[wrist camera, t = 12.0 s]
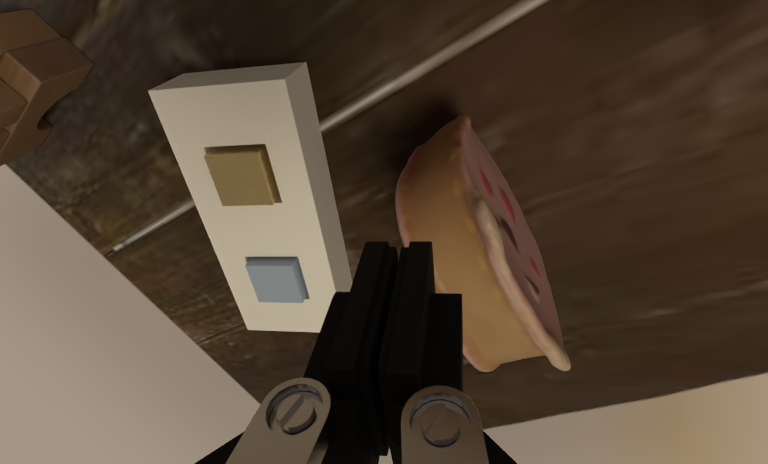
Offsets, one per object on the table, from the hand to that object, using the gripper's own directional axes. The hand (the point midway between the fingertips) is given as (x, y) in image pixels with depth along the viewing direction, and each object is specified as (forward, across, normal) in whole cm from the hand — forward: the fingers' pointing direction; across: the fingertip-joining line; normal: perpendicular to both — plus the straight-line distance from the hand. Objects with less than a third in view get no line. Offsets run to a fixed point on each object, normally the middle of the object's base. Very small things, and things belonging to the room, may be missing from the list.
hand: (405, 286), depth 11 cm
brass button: (+25, +18, +8) cm, 32 cm away
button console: (+29, +18, +14) cm, 37 cm away
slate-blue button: (+25, +18, +20) cm, 37 cm away
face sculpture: (+29, -3, +14) cm, 33 cm away
